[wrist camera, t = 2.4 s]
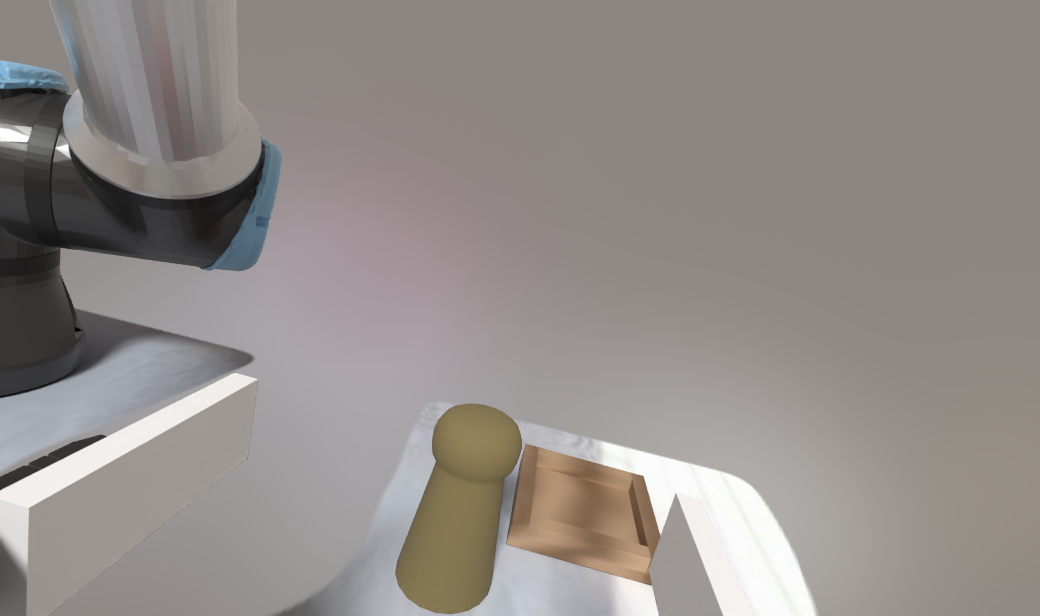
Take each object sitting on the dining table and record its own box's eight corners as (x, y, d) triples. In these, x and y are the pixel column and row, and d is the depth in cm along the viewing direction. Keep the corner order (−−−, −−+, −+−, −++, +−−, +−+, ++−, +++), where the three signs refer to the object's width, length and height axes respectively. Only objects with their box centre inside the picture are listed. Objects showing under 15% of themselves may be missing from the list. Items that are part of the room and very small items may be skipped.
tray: (506, 544, 35) (512, 520, 34) (520, 463, 45) (525, 443, 45) (658, 587, 34) (668, 563, 34) (636, 495, 45) (643, 476, 44)
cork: (375, 582, 29) (411, 414, 26) (426, 525, 34) (460, 382, 32) (466, 632, 27) (514, 457, 25) (505, 563, 33) (547, 415, 30)
